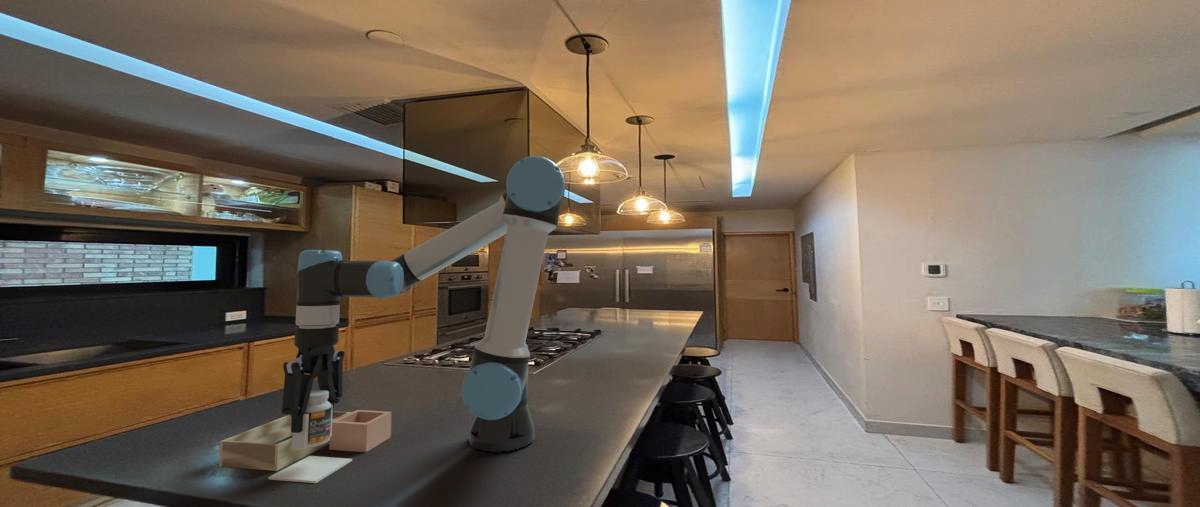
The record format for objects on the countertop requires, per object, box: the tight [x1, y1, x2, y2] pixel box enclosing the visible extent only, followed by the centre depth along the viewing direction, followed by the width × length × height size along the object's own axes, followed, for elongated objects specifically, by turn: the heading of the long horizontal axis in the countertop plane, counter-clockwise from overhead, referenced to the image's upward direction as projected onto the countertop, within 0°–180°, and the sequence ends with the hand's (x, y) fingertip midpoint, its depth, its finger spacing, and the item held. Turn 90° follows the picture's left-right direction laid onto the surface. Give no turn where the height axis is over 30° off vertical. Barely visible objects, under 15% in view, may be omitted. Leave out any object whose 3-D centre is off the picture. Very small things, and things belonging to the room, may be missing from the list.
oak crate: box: [218, 410, 352, 472], centre depth 100 cm, size 21×13×5 cm, turn 172°
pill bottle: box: [299, 389, 332, 447], centre depth 89 cm, size 6×6×10 cm
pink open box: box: [328, 409, 393, 453], centre depth 103 cm, size 9×9×6 cm
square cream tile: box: [267, 455, 353, 484], centre depth 89 cm, size 10×10×1 cm
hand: (312, 441), depth 89 cm, fingers closed on pill bottle, 6 cm apart
